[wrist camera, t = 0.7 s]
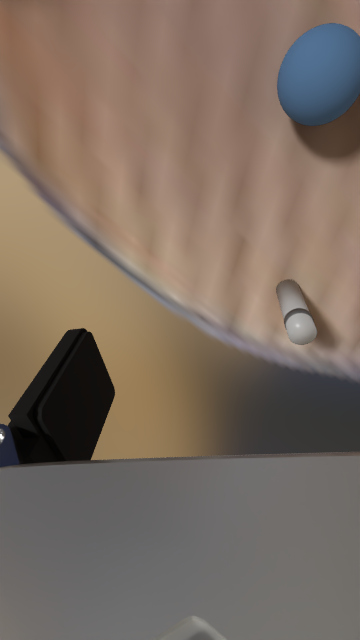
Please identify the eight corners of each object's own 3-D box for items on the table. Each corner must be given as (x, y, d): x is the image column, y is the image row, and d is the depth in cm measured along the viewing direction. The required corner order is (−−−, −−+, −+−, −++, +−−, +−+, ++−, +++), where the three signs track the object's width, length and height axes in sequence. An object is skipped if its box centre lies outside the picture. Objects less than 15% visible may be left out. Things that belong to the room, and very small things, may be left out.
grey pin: (291, 274, 36) (308, 316, 29) (303, 291, 37) (322, 336, 30) (271, 287, 37) (282, 330, 30) (283, 303, 38) (297, 349, 31)
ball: (328, 10, 25) (355, -15, 20) (365, 86, 27) (397, 81, 22) (258, 75, 27) (265, 68, 22) (296, 140, 29) (311, 147, 24)
